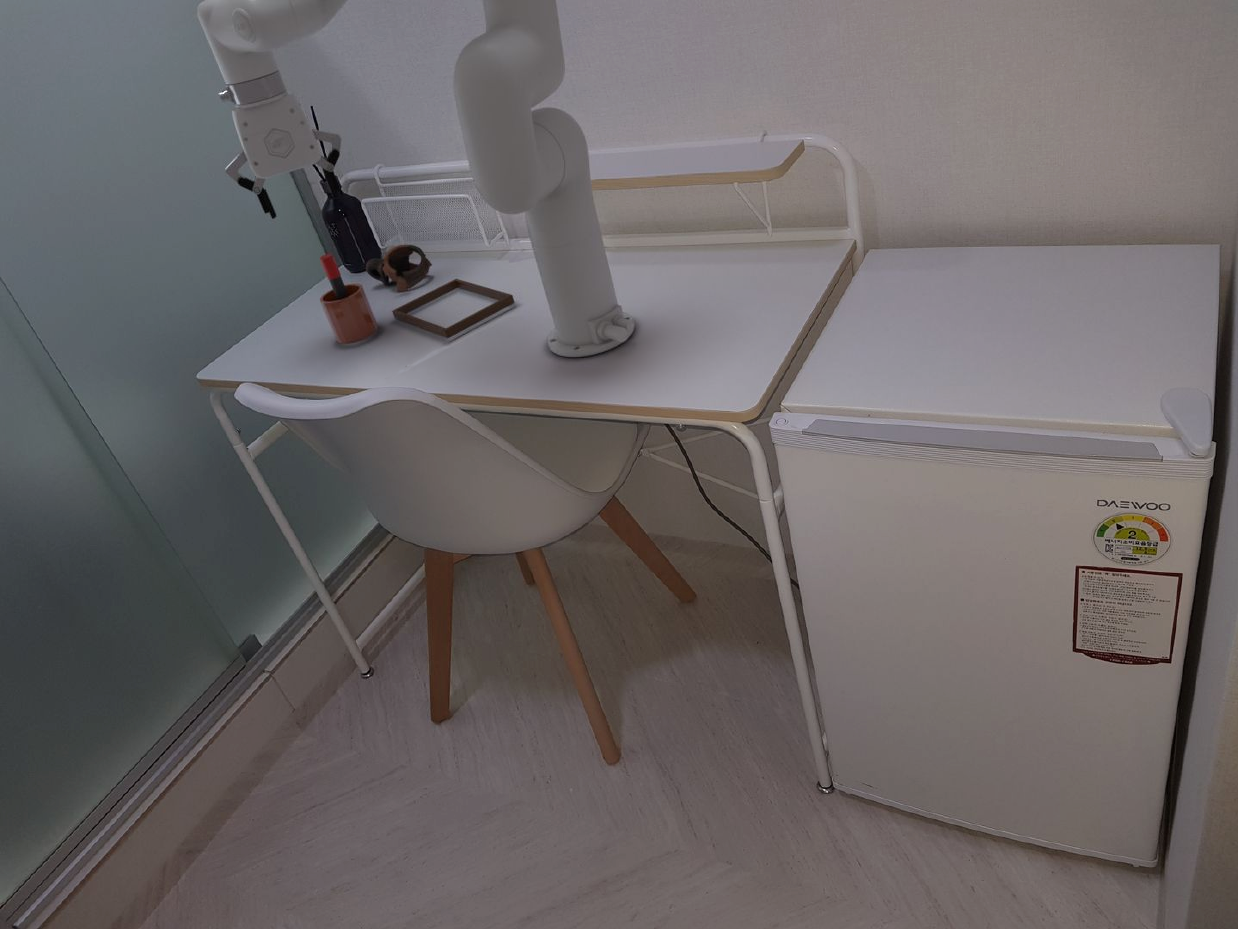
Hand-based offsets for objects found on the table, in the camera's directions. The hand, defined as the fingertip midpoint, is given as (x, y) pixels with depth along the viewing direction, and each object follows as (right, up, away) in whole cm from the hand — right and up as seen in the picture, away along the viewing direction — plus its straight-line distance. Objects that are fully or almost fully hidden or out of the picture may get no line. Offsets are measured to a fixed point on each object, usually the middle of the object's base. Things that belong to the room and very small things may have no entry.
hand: (305, 206), depth 140 cm
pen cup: (+5, -18, +12) cm, 22 cm away
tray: (+21, -15, +11) cm, 28 cm away
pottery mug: (+9, -7, +28) cm, 30 cm away
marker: (+5, -18, +11) cm, 22 cm away
